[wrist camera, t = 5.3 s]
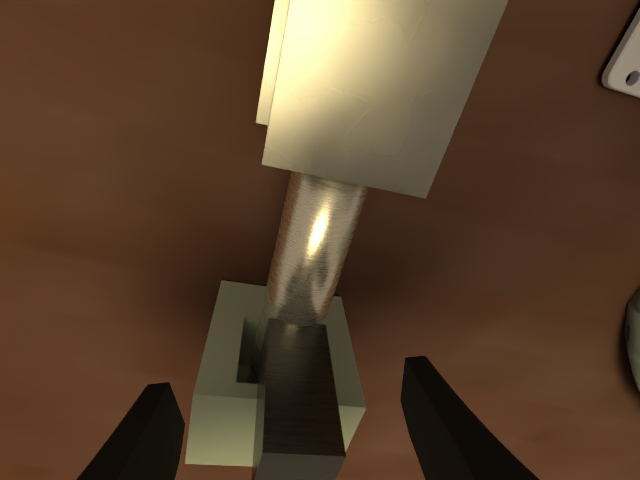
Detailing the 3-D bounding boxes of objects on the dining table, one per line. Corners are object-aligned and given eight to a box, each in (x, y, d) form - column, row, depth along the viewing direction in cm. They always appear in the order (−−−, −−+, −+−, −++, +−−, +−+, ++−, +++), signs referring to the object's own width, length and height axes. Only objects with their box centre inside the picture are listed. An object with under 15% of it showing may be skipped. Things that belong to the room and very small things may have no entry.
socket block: (341, 296, 18) (366, 407, 13) (321, 352, 20) (337, 469, 15) (221, 280, 17) (193, 394, 12) (212, 340, 19) (184, 463, 13)
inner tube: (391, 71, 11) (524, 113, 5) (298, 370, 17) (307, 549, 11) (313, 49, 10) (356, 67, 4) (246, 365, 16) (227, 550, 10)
